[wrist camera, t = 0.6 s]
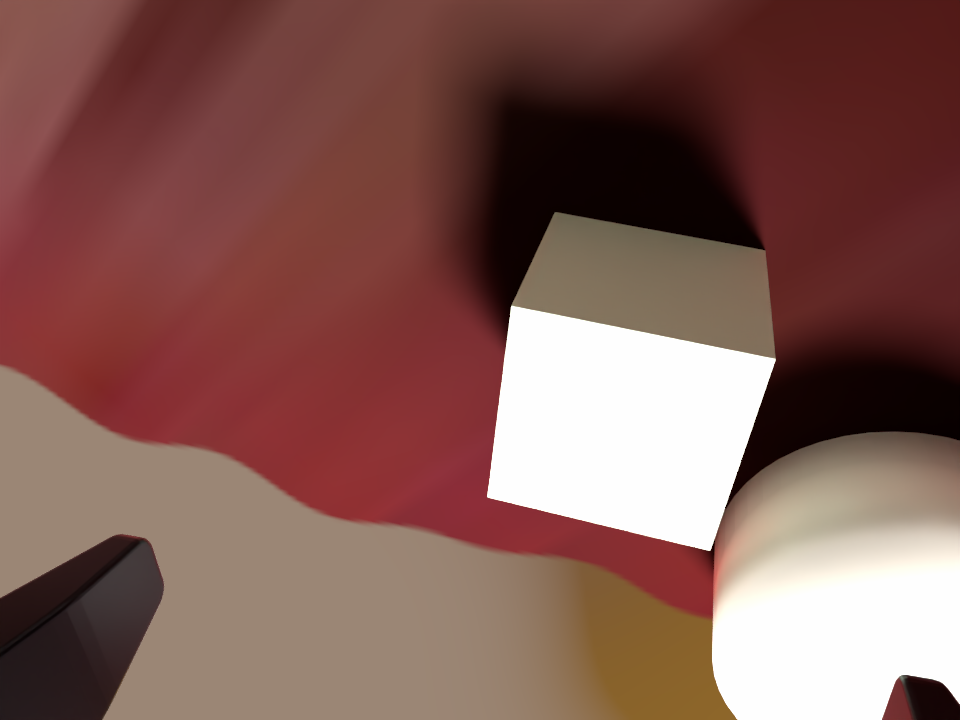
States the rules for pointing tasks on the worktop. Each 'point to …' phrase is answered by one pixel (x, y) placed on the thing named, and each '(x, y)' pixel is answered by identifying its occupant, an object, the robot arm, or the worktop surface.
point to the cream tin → (839, 578)
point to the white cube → (632, 378)
